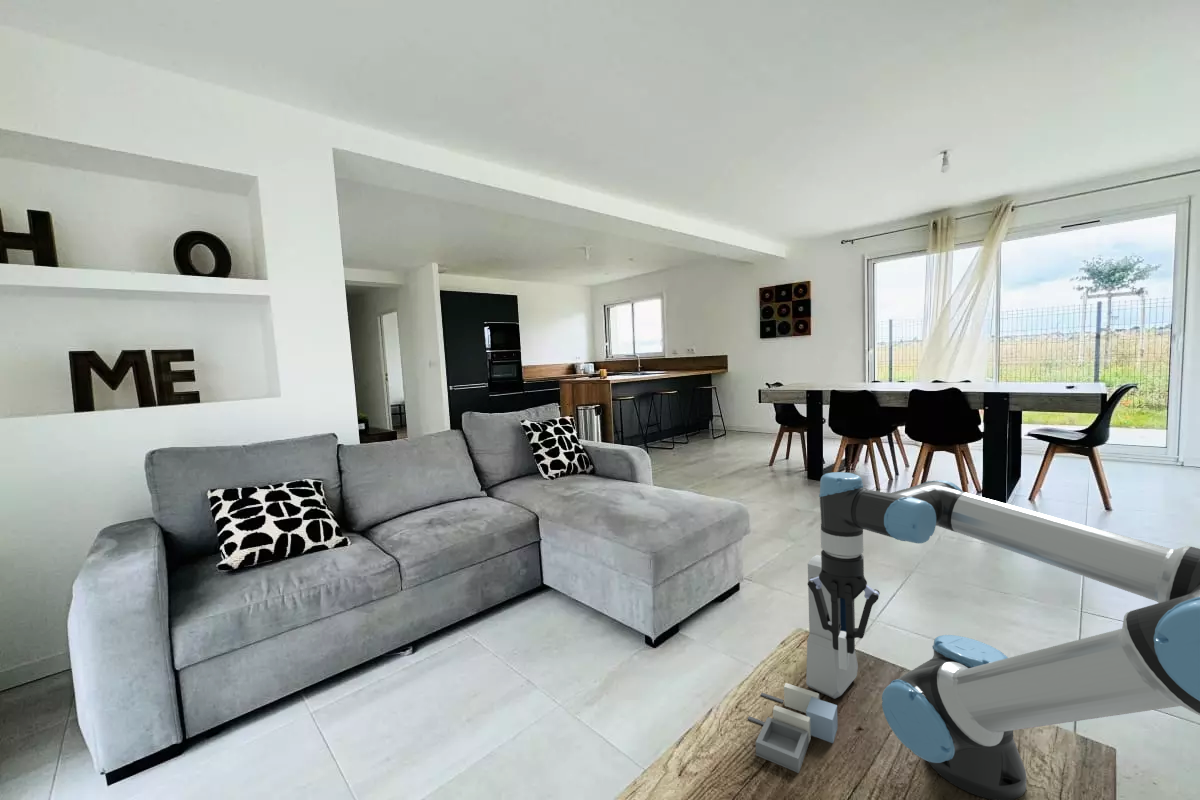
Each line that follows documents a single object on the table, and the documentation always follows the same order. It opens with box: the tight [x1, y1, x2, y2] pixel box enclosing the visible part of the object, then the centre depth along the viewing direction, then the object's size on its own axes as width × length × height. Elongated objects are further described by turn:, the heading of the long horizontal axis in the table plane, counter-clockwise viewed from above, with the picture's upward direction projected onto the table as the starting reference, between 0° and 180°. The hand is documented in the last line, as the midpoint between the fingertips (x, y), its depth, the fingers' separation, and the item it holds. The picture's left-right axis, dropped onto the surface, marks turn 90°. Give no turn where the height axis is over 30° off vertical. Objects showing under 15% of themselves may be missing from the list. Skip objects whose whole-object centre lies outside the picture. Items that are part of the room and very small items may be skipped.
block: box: [805, 697, 839, 744], centre depth 101 cm, size 5×5×5 cm
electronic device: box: [805, 554, 859, 699], centre depth 114 cm, size 12×8×30 cm, turn 133°
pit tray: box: [755, 716, 810, 774], centre depth 96 cm, size 8×8×3 cm
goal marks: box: [747, 692, 784, 726], centre depth 108 cm, size 5×10×1 cm, turn 145°
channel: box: [772, 682, 820, 744], centre depth 104 cm, size 7×10×4 cm
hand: (844, 665), depth 98 cm, fingers closed
